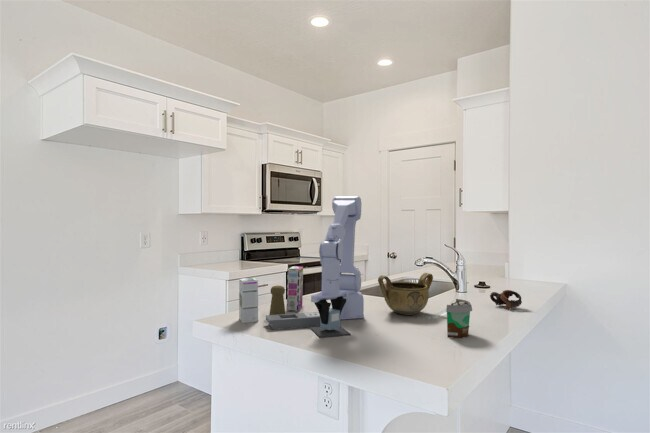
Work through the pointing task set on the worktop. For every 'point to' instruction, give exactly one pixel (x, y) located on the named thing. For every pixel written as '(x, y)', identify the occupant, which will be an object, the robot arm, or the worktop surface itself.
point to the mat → (330, 332)
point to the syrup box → (248, 300)
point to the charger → (332, 320)
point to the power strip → (293, 320)
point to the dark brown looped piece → (506, 299)
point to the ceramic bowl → (406, 294)
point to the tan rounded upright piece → (277, 300)
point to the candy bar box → (294, 288)
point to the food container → (458, 318)
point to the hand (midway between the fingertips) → (330, 322)
